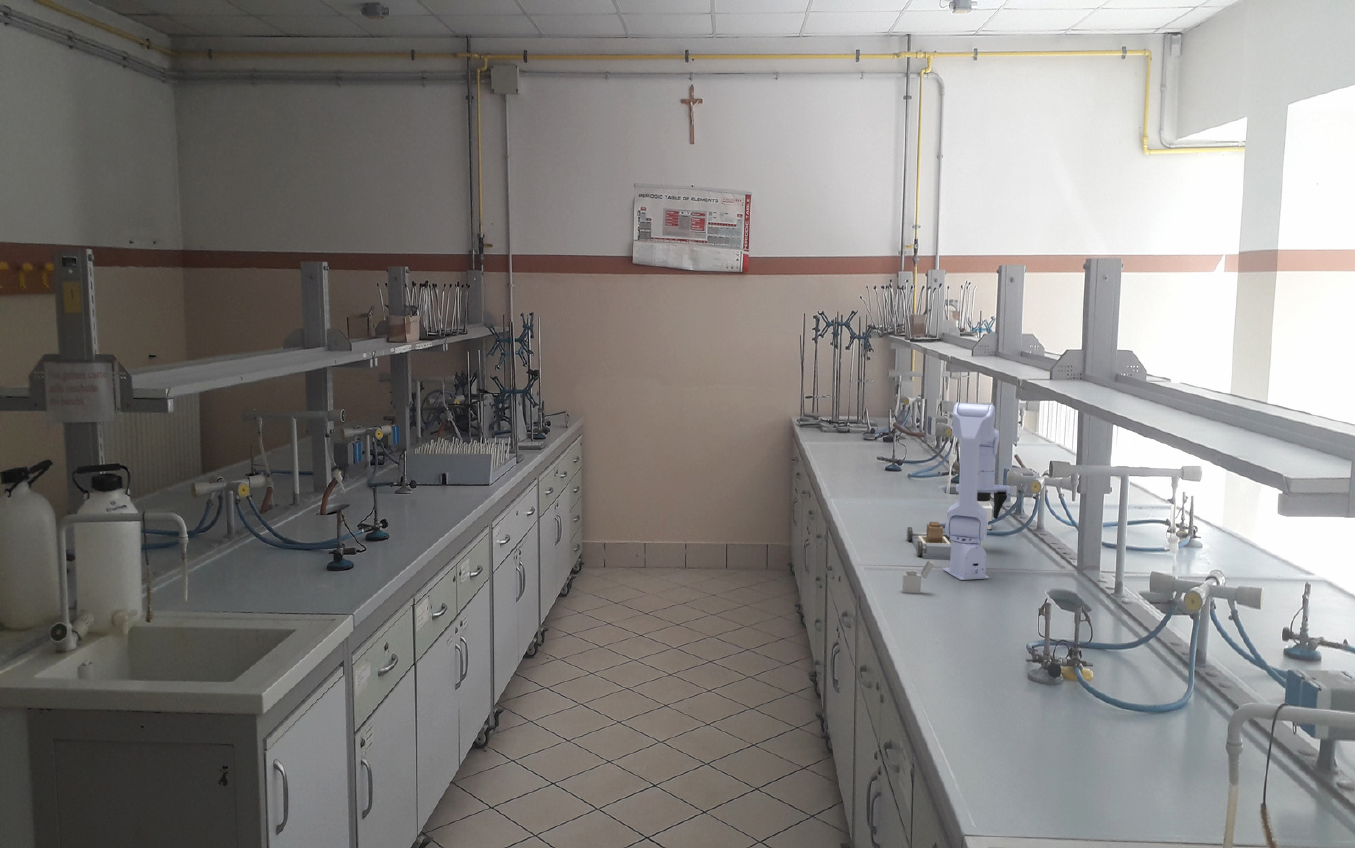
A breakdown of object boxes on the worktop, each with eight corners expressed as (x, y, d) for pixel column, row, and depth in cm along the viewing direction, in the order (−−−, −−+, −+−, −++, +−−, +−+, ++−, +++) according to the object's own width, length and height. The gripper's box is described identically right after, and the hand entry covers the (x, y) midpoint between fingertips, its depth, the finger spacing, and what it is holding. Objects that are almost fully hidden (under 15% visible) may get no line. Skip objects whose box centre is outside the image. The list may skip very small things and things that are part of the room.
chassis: (964, 559, 261) (964, 545, 261) (919, 558, 262) (920, 544, 262) (947, 539, 283) (947, 525, 283) (905, 537, 284) (906, 524, 283)
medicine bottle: (991, 530, 295) (994, 492, 293) (967, 528, 296) (969, 490, 294) (989, 524, 301) (991, 487, 300) (965, 523, 303) (967, 486, 301)
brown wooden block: (941, 547, 270) (943, 525, 270) (928, 546, 271) (930, 524, 270) (938, 543, 275) (939, 521, 274) (925, 542, 275) (927, 521, 274)
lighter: (902, 592, 232) (904, 560, 231) (902, 590, 234) (903, 558, 233) (933, 593, 232) (934, 561, 231) (931, 591, 233) (933, 559, 232)
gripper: (1006, 468, 272) (1003, 515, 274) (954, 466, 273) (952, 513, 275) (1013, 472, 265) (1010, 520, 267) (960, 471, 266) (957, 519, 268)
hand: (981, 517), depth 270 cm, fingers open, 7 cm apart
